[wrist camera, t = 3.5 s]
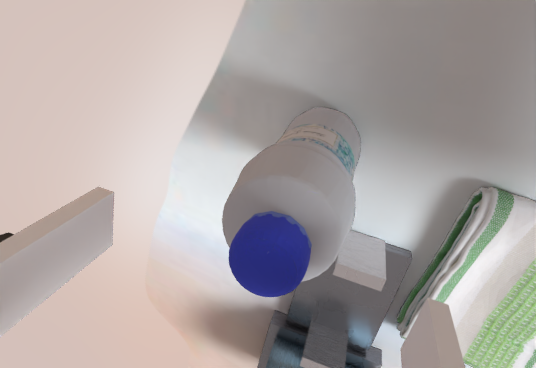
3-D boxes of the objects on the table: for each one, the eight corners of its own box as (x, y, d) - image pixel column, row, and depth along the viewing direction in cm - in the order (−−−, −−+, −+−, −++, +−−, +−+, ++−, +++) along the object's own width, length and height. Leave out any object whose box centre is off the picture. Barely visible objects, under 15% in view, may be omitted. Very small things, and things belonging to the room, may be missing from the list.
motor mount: (302, 214, 36) (284, 260, 29) (439, 258, 34) (455, 320, 26) (260, 358, 45) (238, 421, 37) (366, 400, 43) (364, 475, 35)
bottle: (360, 94, 30) (332, 189, 12) (368, 171, 32) (354, 345, 15) (281, 106, 32) (161, 202, 14) (294, 178, 34) (203, 336, 17)
